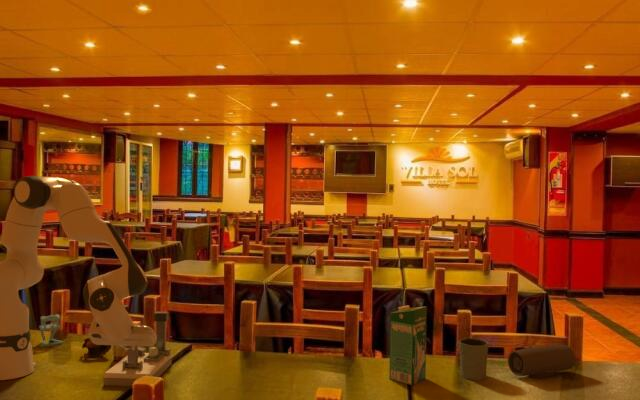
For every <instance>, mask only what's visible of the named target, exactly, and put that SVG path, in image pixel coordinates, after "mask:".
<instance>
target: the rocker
mask: <svg viewBox="0 0 640 400" xmlns="http://www.w3.org/2000/svg"><path fill="white" fill-rule="evenodd" d="M146 350H147V348H145V347H143V346H138V354H139V355H143V354H144V353H146Z"/></svg>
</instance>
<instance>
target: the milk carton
mask: <svg viewBox="0 0 640 400" xmlns="http://www.w3.org/2000/svg"><path fill="white" fill-rule="evenodd" d="M427 308H428V307H427V306H417V307H410V305H403V306H399V307H397V309H398V310H396V311H393V312H390V314H389V315H390V316H389V317H390V318H389V319H390V320H389V321H390V322H389V323H390V324H389V326H390V327H389V378H388V379H389V380H390V381H395V382H397V383H398V382H399V383H402V384H406V385H408V386H409V385H410V386H414V385H416V384H417V383H419V382H421V381H423V380H425V379H426V377H427V376H426V375H427V374H426V373H427V372H426V369H427V368H426V366H427V365H426V364H427V314H428V309H427Z"/></svg>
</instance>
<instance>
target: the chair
mask: <svg viewBox="0 0 640 400" xmlns="http://www.w3.org/2000/svg"><path fill="white" fill-rule="evenodd" d="M39 319H40V325H39V327H38V328H39V331H40V335H41V338H42V342H41V348H45V347H51V346H52V347H53V346H58V345H59V346H60V345H62V344H63V341H62V340H58V339H55V338H54V336H55V334H56V331H57V330H59V329H61V325H59V321H60V319H61V316H60V314H57V313H55V314H50V315H47V316H45V315H42V316H40V318H39ZM50 321H53V323H51V324H46V323H47V322H50ZM50 330H53V331H52V332H51V335H50V337H49V342H51V341H53V342H51V343H49V342H48V343H46V337H45V334H44V332H46V331H50Z"/></svg>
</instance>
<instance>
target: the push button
mask: <svg viewBox="0 0 640 400" xmlns="http://www.w3.org/2000/svg"><path fill="white" fill-rule="evenodd" d="M148 353H149V358H157V357H158V347H156V346H149V347H148Z"/></svg>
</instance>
